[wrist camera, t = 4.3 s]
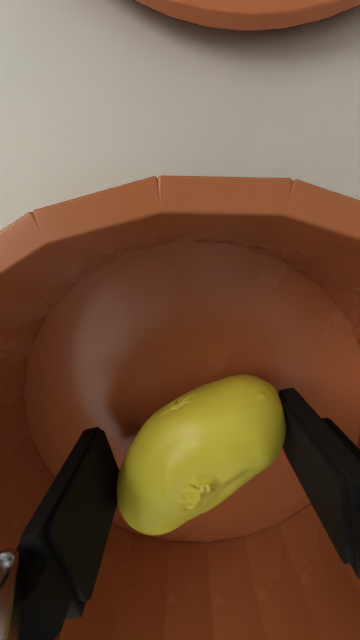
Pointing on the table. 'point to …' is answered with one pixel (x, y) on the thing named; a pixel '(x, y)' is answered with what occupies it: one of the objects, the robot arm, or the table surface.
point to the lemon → (199, 452)
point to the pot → (185, 387)
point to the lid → (250, 12)
